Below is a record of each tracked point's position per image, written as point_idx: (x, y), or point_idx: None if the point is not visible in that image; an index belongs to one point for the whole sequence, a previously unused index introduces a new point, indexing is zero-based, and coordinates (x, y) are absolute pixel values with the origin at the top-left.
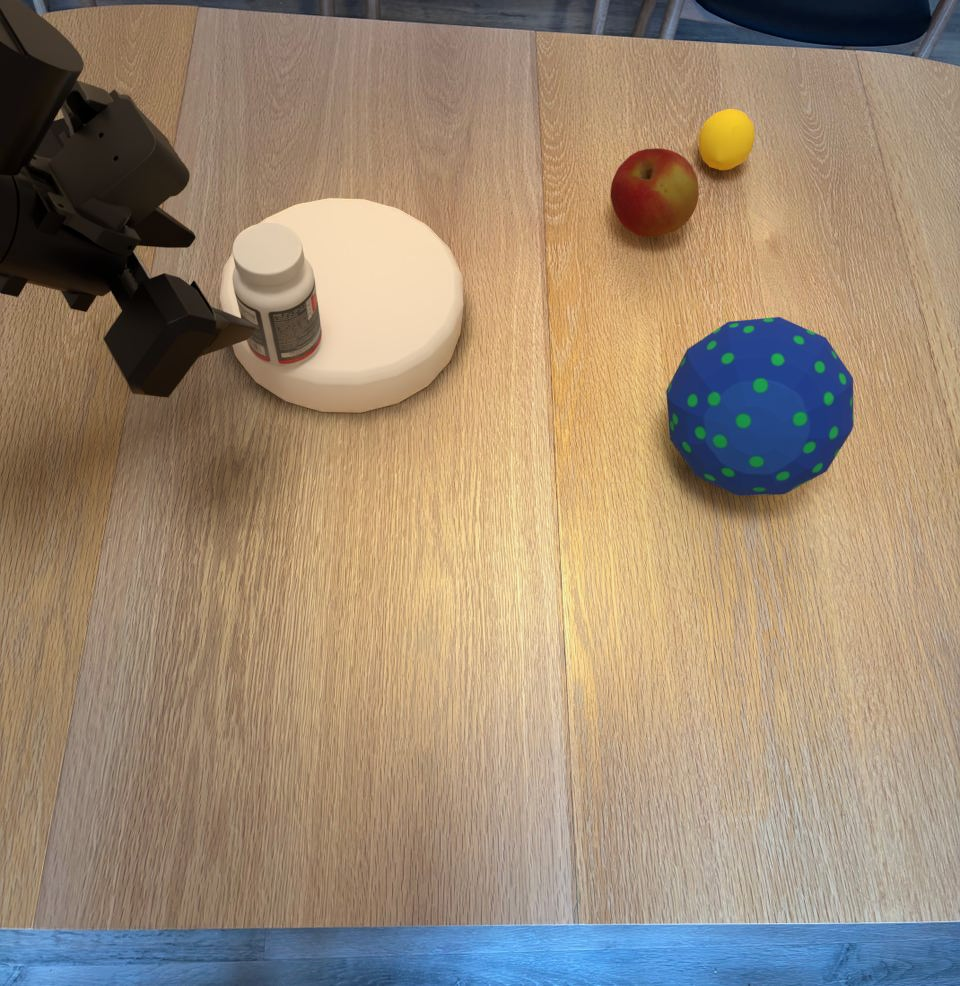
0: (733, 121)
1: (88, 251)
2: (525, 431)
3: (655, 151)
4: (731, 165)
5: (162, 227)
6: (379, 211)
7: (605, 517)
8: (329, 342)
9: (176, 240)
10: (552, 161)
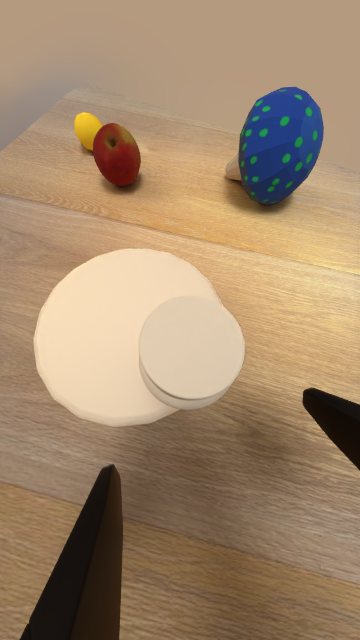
0: (87, 115)
1: None
2: (240, 259)
3: (101, 129)
4: None
5: (101, 567)
6: (73, 279)
7: (291, 242)
8: None
9: (117, 511)
10: (61, 202)
